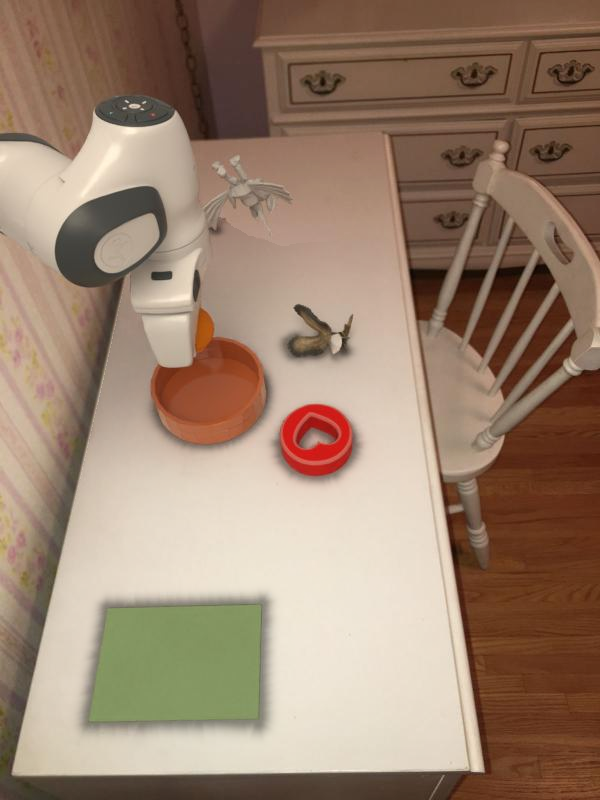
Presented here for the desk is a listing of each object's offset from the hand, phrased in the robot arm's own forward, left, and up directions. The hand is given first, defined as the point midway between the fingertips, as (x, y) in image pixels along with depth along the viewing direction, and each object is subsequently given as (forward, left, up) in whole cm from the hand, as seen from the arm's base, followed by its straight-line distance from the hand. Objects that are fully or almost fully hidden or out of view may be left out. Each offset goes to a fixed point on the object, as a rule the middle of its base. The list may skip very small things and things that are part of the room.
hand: (192, 332), depth 81 cm
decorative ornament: (+6, -16, -15) cm, 23 cm away
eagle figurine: (+18, -3, -15) cm, 24 cm away
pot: (0, 0, -14) cm, 14 cm away
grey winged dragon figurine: (+28, +27, -15) cm, 42 cm away
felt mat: (-24, -27, -14) cm, 39 cm away
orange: (0, 0, -2) cm, 2 cm away
